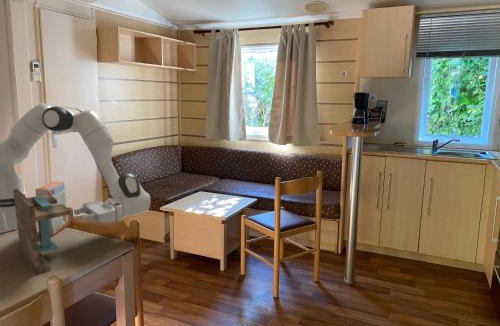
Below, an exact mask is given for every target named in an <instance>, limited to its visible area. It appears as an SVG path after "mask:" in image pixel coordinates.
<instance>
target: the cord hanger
mask: <svg viewBox="0 0 500 326" xmlns="http://www.w3.org/2000/svg"><path fill="white" fill-rule="evenodd" d="M31 197H32V201H33V202H34V203H35V204H36V207H35V208H40V209H41V210H42V211H43V210H49V209H52V205H51V204H50V203H49V202H47V201H46V200H45V199H44V198H43V197H42V196H36V195H35V196H31ZM37 223H38V226H37V227H38V233H39V234H38V235H39V243H38V247H39V253H41V254H42V253H44V252H49V251H53V250H56V249H58V245H57V244H56V243H55V241H53V240H52V239H51V237H52V236H50V227H49V219H45V220H39V221H37Z"/></svg>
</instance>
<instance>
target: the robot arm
mask: <svg viewBox="0 0 500 326" xmlns="http://www.w3.org/2000/svg"><path fill="white" fill-rule="evenodd" d="M48 131H51V132H53V133H54V132H55V133H67V134H68V133H78V134H79V135H80V136H81V139H82V140H83V142H84V144H85V145H86V147H87V148H88V151H89V152H90V154H91V156H92V158H93V160H94V163H95V165H96V167H97V169H98V171H99V172H100V173H99V174H100V175H101V177H102V179H103V181H104V183H105V185H106V189H107V196H108V197H109V198H107V199H106V200H105V202H102V201H101V200H99V201H97V200H95V201H90V202H85V203H82V207H80V208H77V209H73V214H74V215H75V216H77V215H80V214H85V215H81V217H80V218H81V220H82V221H83V222H85V221H96V222H97V223H98V224H107V223H113V222H122V220H123V218H124V217H127V216H136V215H140V214H143V213H145V212H147V211H148V210H149V209H150V207H151V204H152V200H151V196H150V194H149V193H148V192H146V190H145V189H144V188H143V187H142V185H141V183H140V180H139V178H138V177H137V176H136V175H135V174H133V173H131V172H125V173H122V174H121V175H120V176H119V174H118V172H117V171H116V168H115V167H114V165H113V162H112V151H113V147H114V140H113V136H112V134H111V132H110V131H109V129H108V127H107V126H106V124H105V122H104V121H103V120H102V118H100V116H99V115H98V114H97V113H96V112H95V111H93V110H90V109H87V110H80V109H79V108H74V107H73V108H72V107H68V106H57V105H55V106H52V105H50V104H48V103H45V102H44V103H43V102H41V103H38V104H37V105H35V106H34V107H31V109H29V110H28V111H27V112H26V113H24V114H23V116H22V117H21V118H20V119H19V120H18V121H16V123H14V125H12V127H11V129H10V133H9V135H8V137H7V138H6V139H5V140H3V141H1V142H0V234H2V233H3V234H4V233H7V232H10V231H16V230H17V231H18V227H17V219H16V210H15V201H14V193H13V190H15V189H18V190H19V191H20V192H21V193H22V194H23V195H24V196H25V197H26V194H25V191H24V184H23V183H24V182H23V181H24V180H23V178H22V176H20V175H19V174H18V173H17V171H16V169H15V165H16V164H19V163H22V162H23V161H24V160H26V159H27V158H28V156H29V154H30V151H31V149H32V148H33V147H34V145H35V144H36V143H37V142H38V141H39V140H40V139H41V138H42V137H43V136H44V135H45V134H46V133H47V132H48Z"/></svg>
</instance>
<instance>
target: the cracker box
mask: <svg viewBox="0 0 500 326" xmlns="http://www.w3.org/2000/svg"><path fill="white" fill-rule="evenodd" d="M65 185H66V184H65V181H52V182H51V181H50V182H49V183H47V184H45V185H43V186H40V187H38V188H37V189H36V188H35V197H36V196H43V195H49V194H50V195H51V196H53V197H54V198H55V199H56V200H57V204H52V205H58V204H63V205H64V206H65V207H67V208H68V206H67V204H68V203H67V196H66V188H65V187H66V186H65ZM68 226H69V215H65V216H60V217H55V218H50V219H49V227H50V237H54V236H55V235H56V234H58V233H59V232H61V231H62V230H63V229H65V228H66V227H68Z"/></svg>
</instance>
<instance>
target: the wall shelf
mask: <svg viewBox="0 0 500 326" xmlns="http://www.w3.org/2000/svg"><path fill="white" fill-rule="evenodd" d="M13 193H14V201H15V210H16V219H17V227H18V229H17V237H18V244H19V250H20V251H21V252H22V254H23V256H24V258H25V259H26V260H27V262H28V263H29V265H30V267H31V268H32V269H33V272H34V273H35V275H38V274H42V273H45V272H49V271H51V269H52V268H51V265H50V264H49V262H48V261H47V259H46V258H44V256H43V255H42V252H41V253H39V247H38V244H39V238H38V230H37V229H38V228H37V222H38V221H39V220H45V219H50V218H55V217H60V216H65V215H68V216H69V215H72V213H71V209H69V208H68V206H67V207H65V206H64V205H63V204H58V205H52V204H57V200H56V199H55V198H54V197H53V196H51V195H50V194H49V195H43V196H42V197H43V198H44V199H45V200H46V201H47V202H49V203H50V204H51V205H52V209H49V210H43V211H42V210H41V209H40V208H37V207H36V204H35V203H34V202H33V201H32V197H33V196H30V197H26V195H25V196H24V195H23V194H22V193H21V192H20V191H19V190H18V189H15V190H13Z"/></svg>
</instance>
